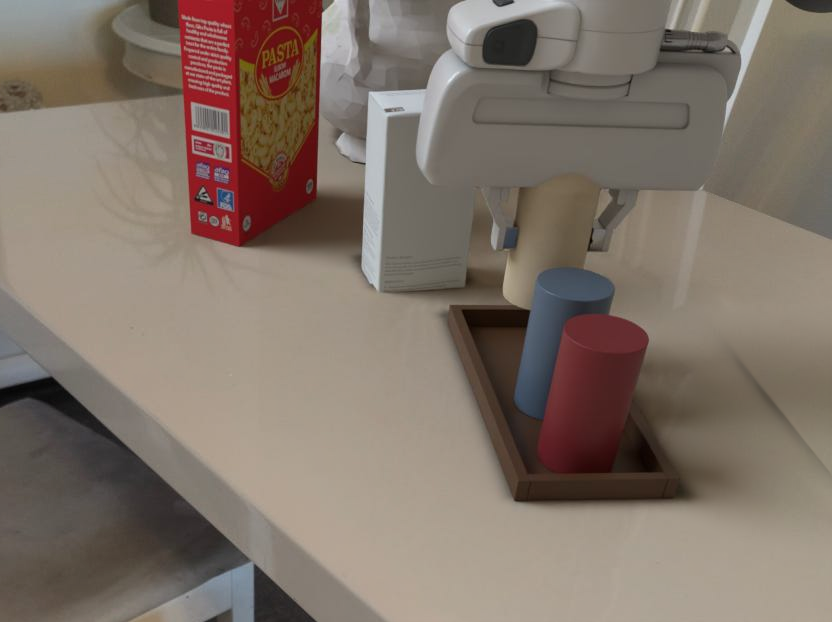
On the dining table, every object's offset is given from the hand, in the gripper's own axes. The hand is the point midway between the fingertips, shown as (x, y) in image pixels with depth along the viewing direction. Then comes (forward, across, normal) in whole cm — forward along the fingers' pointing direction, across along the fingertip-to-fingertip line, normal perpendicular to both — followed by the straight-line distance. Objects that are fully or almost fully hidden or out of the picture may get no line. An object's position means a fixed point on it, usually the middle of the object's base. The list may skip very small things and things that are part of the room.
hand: (548, 248), depth 70 cm
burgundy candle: (+8, 0, +14) cm, 16 cm away
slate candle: (+8, 0, +7) cm, 11 cm away
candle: (+4, 0, 0) cm, 4 cm away
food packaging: (+9, +20, -30) cm, 37 cm away
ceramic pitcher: (+9, +5, -48) cm, 50 cm away
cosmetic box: (+9, +7, -14) cm, 19 cm away
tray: (+9, 0, +6) cm, 11 cm away
